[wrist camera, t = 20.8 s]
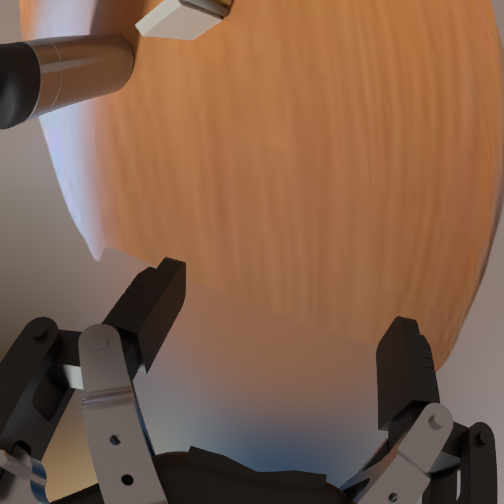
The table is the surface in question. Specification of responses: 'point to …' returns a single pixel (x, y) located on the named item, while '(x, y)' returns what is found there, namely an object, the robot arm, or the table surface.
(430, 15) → the table surface
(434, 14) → the table surface
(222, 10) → the wall frame
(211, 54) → the table surface
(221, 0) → the door
